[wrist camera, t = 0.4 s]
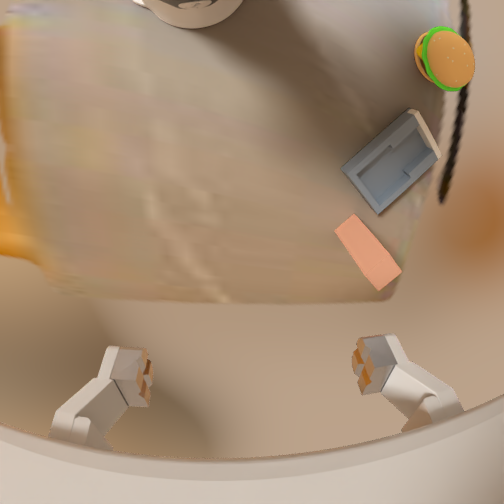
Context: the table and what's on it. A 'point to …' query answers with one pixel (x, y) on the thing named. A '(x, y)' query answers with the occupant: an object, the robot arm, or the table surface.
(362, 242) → the post
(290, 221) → the table surface
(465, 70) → the hamburger
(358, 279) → the table surface
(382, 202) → the slot board
